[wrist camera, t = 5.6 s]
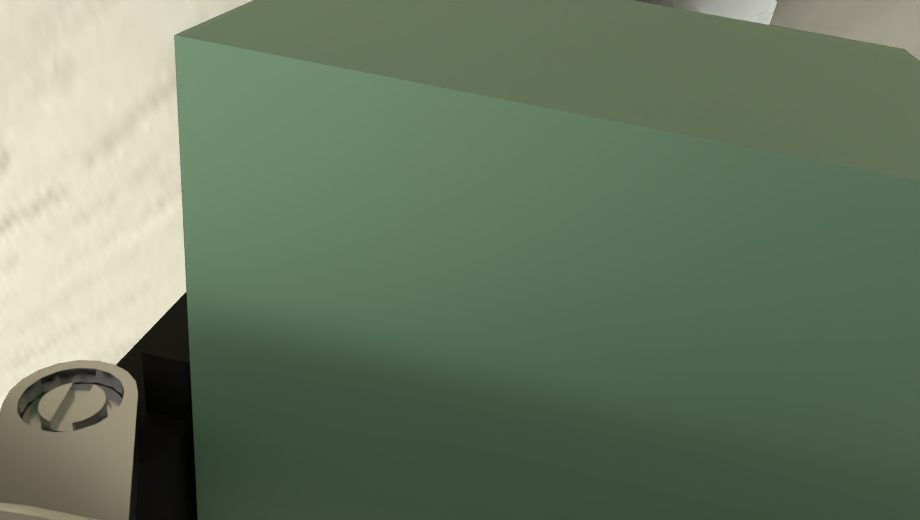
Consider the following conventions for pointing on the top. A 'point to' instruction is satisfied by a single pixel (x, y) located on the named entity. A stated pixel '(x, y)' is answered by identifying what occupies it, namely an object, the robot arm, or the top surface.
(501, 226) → the green boxy piece
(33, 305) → the top surface
